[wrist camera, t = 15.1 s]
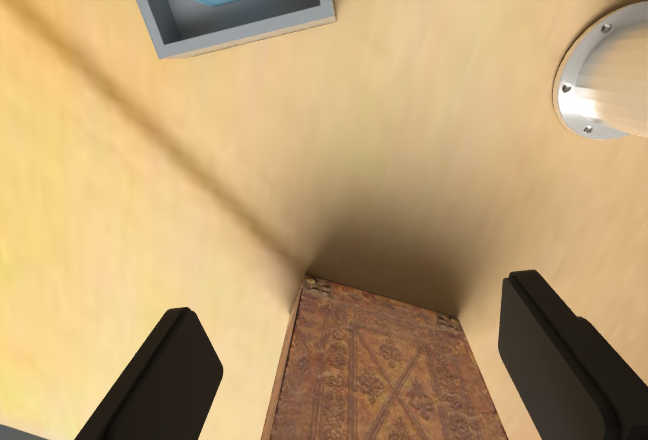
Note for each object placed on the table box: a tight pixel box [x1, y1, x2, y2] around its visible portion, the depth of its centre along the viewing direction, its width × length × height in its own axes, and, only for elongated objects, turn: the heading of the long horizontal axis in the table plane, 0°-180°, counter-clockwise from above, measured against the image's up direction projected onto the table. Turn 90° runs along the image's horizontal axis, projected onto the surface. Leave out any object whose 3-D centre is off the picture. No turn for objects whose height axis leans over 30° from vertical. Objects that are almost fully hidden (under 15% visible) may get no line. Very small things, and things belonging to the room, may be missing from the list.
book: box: [261, 274, 508, 440], centre depth 37 cm, size 25×9×30 cm, turn 73°
